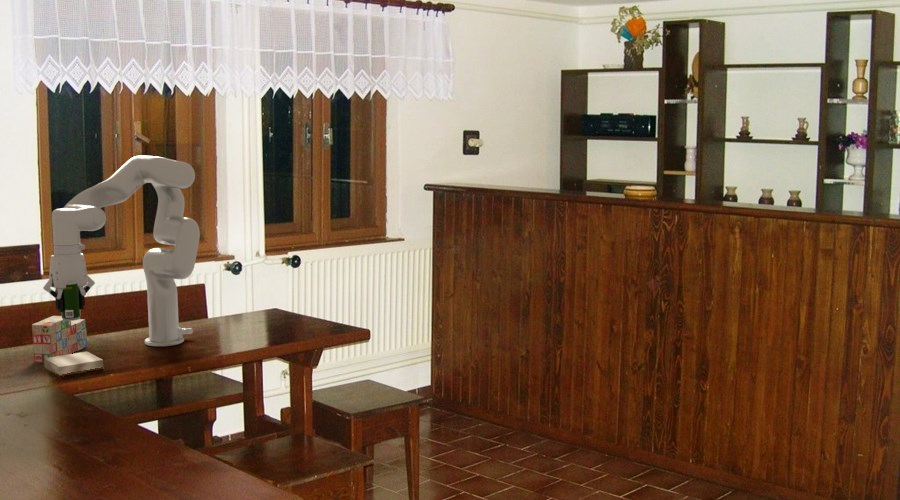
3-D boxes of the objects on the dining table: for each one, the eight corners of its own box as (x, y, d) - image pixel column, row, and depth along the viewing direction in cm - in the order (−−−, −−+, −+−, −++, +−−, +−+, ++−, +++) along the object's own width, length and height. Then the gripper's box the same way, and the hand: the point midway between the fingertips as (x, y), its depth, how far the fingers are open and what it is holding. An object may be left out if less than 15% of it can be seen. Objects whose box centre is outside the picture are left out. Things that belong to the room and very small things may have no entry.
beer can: (80, 320, 311) (78, 280, 309) (61, 321, 309) (59, 281, 307) (80, 316, 316) (78, 277, 314) (61, 318, 314) (59, 278, 312)
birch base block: (87, 360, 324) (86, 351, 323) (103, 369, 314) (102, 359, 313) (44, 367, 315) (44, 358, 315) (59, 377, 306) (59, 367, 305)
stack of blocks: (69, 346, 343) (67, 309, 341) (87, 347, 342) (85, 310, 340) (33, 362, 322) (31, 323, 320) (52, 363, 321) (50, 324, 319)
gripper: (91, 245, 317) (94, 304, 320) (33, 251, 306) (37, 311, 309) (100, 248, 312) (103, 308, 314) (42, 254, 301) (45, 316, 304)
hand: (70, 309), depth 312 cm, fingers closed on beer can, 5 cm apart
